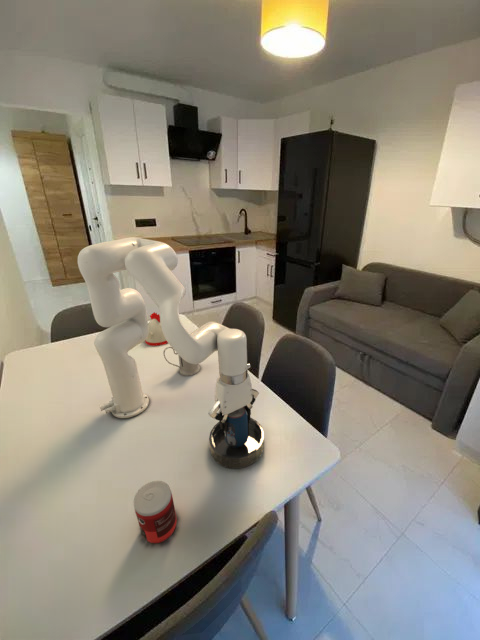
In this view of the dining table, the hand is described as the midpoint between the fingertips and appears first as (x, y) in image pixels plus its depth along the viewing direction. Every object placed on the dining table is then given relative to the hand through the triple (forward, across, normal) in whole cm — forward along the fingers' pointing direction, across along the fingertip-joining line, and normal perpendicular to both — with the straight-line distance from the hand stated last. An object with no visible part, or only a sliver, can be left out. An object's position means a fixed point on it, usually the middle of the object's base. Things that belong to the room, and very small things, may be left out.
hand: (235, 422), depth 85 cm
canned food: (+10, +27, +9) cm, 30 cm away
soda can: (+7, 0, 0) cm, 7 cm away
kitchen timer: (+10, -3, -82) cm, 83 cm away
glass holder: (+10, -2, -47) cm, 48 cm away
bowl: (+9, 0, 0) cm, 9 cm away
